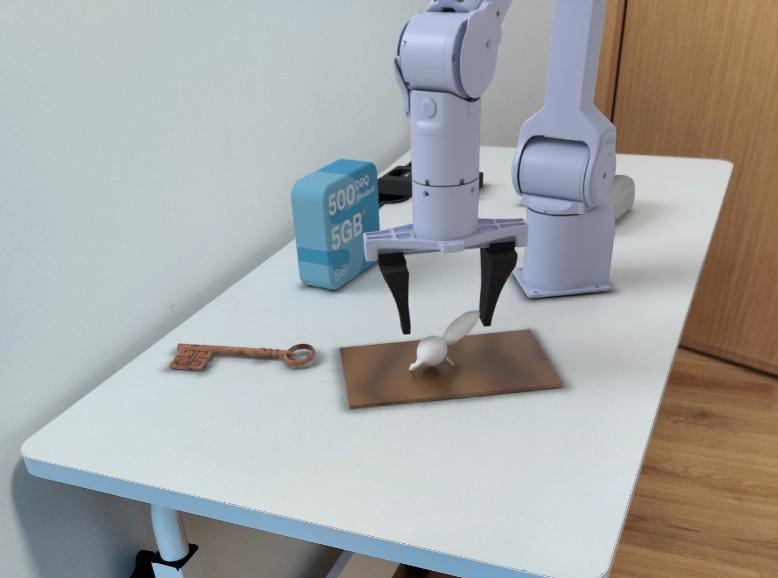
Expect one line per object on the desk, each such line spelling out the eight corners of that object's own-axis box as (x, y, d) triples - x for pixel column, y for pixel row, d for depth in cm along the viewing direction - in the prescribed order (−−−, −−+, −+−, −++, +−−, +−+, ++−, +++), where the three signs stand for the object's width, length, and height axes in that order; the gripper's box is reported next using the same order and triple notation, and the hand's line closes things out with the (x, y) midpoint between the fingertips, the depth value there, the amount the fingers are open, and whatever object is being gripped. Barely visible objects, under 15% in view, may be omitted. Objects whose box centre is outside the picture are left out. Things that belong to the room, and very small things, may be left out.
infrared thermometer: (534, 202, 122) (636, 209, 115) (498, 229, 115) (604, 237, 107) (534, 169, 120) (638, 173, 112) (497, 194, 112) (606, 200, 105)
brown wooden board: (529, 332, 88) (529, 329, 87) (561, 387, 78) (562, 383, 78) (339, 351, 87) (339, 347, 86) (349, 409, 77) (349, 405, 77)
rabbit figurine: (395, 361, 83) (454, 309, 84) (420, 392, 84) (479, 340, 84) (406, 355, 77) (470, 298, 78) (433, 387, 78) (496, 331, 79)
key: (164, 370, 86) (303, 380, 82) (162, 362, 85) (302, 372, 82) (187, 341, 90) (320, 349, 86) (185, 333, 89) (319, 341, 86)
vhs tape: (483, 185, 127) (484, 171, 126) (465, 201, 122) (465, 187, 121) (398, 178, 132) (398, 165, 131) (377, 193, 127) (376, 179, 126)
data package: (331, 294, 98) (322, 188, 91) (299, 288, 100) (288, 183, 92) (381, 259, 106) (377, 158, 98) (351, 254, 108) (344, 155, 100)
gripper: (365, 199, 68) (374, 352, 76) (541, 183, 68) (530, 336, 77) (357, 174, 73) (366, 320, 82) (520, 159, 74) (512, 305, 82)
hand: (445, 326), depth 80 cm, fingers open, 7 cm apart
